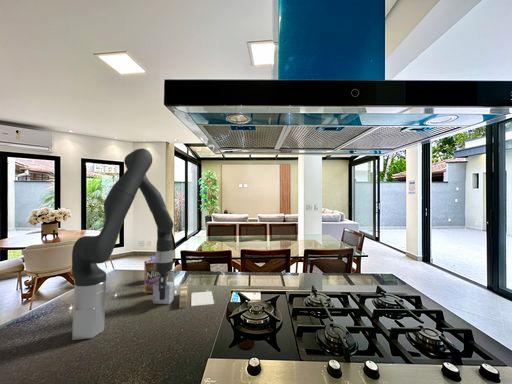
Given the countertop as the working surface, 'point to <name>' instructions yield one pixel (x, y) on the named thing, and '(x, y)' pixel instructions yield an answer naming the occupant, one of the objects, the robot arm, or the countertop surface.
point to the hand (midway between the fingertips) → (163, 296)
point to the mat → (202, 299)
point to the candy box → (150, 276)
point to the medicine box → (168, 293)
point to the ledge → (183, 296)
